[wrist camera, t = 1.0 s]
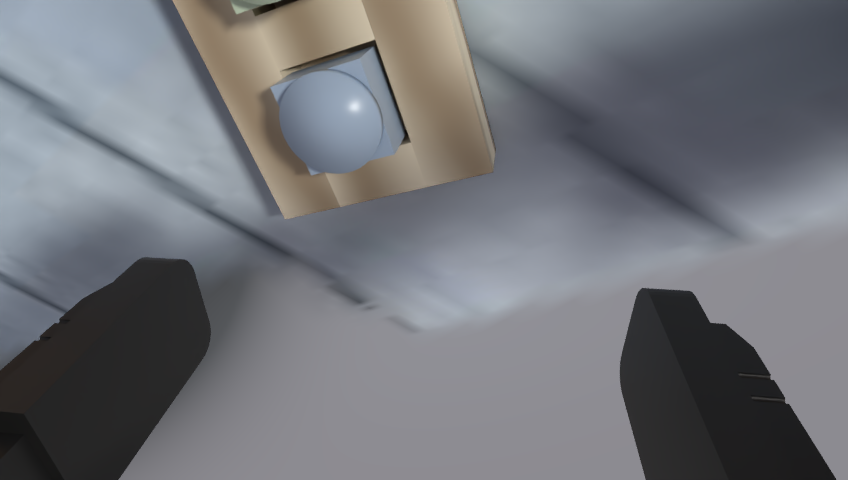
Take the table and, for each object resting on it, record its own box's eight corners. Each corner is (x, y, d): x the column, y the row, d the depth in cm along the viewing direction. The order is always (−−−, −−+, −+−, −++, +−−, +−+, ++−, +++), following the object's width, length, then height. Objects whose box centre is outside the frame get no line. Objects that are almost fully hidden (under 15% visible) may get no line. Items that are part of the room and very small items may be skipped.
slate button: (375, 42, 23) (356, 58, 20) (408, 135, 25) (394, 160, 23) (289, 71, 25) (261, 89, 22) (327, 156, 27) (305, 182, 24)
